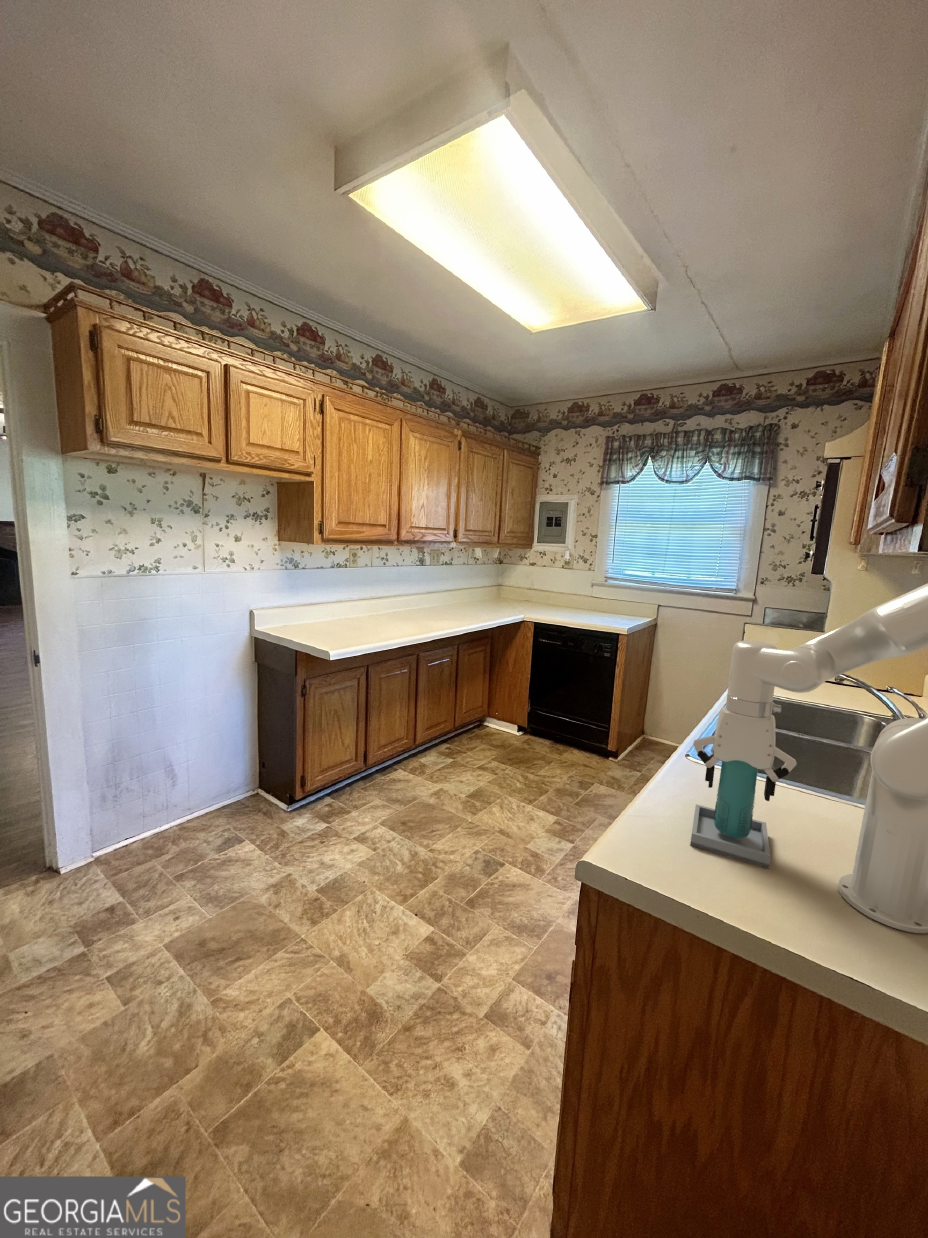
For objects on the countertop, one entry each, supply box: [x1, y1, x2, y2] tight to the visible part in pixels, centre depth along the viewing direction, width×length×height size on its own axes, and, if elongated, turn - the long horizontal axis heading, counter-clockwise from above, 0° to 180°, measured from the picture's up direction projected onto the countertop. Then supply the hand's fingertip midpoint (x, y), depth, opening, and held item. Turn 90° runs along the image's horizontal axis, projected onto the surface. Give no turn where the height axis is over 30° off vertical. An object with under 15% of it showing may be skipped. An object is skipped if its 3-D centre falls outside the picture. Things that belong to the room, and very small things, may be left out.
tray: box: [689, 804, 772, 870], centre depth 98 cm, size 13×13×2 cm
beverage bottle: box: [714, 760, 759, 838], centre depth 97 cm, size 6×7×20 cm
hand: (737, 791), depth 97 cm, fingers open, 9 cm apart
